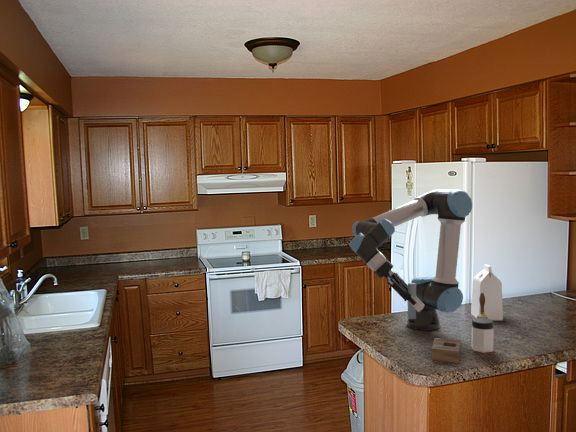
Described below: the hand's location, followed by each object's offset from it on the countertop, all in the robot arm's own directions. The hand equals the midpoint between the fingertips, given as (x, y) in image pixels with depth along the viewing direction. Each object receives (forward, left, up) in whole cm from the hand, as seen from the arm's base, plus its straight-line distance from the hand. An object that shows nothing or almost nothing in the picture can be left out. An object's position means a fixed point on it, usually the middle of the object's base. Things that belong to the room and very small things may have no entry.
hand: (421, 308), depth 208 cm
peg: (0, -4, -4) cm, 6 cm away
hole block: (0, +10, -18) cm, 20 cm away
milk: (-63, +25, -18) cm, 70 cm away
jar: (-12, +23, -18) cm, 32 cm away
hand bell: (-45, +23, -18) cm, 54 cm away
